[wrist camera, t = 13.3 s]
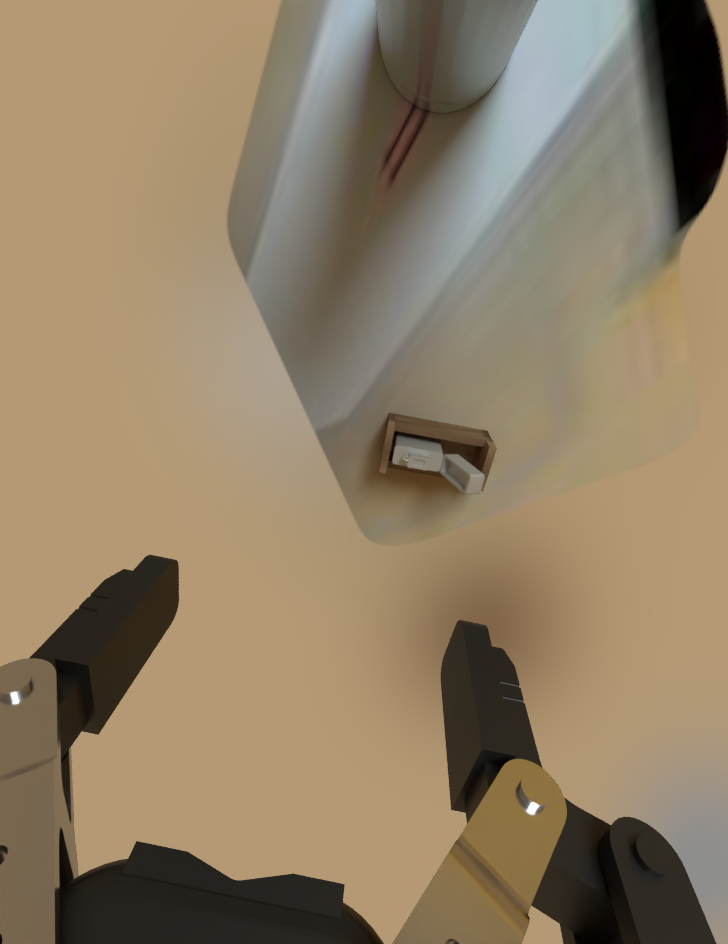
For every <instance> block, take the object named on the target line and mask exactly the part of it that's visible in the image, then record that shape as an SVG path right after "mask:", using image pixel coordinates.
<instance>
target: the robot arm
mask: <svg viewBox="0 0 728 944" xmlns="http://www.w3.org/2000/svg"><path fill="white" fill-rule="evenodd" d="M375 1H376V13H377V23H378V32H379V42H380V48H381V53H382V58H383V62H384V65H385V68H386V70H387V72H388V75H389V77H390V79H391V81H392V82H393V84H394V85H395V87H396V88H397V90H398V91H399V92H400V93H401V94H402V95H403V96H404V97H405V98H406V99H407V100H408V101H409V102H410V103H412V104H414V105H416V106H417V107H419V108H421V109H424V110H427V111H431V112H452V111H456V110H460V109H463V108H465V107H467V106H468V105H470V104H472V103H474V102H476V101H477V100H478V99H479V98H481V97H482V96H483V95H484V94H485V93H487V92H488V91H489V90H490V88H491V87H492V86H493V85H494V83H495V82H496V81H497V80H498V79H499V77H500V75H501V74H502V72H503V70H504V68H505V67H506V65H507V63H508V61H509V59H510V57H511V55H512V53H513V51H514V49H515V47H516V44H517V42H518V40H519V38H520V36H521V35H522V33H523V31H524V28H525V26H526V24H527V22H528V20H529V18H530V16H531V14H532V12H533V9H534V7H535V5H536V3H537V1H538V0H375ZM178 575H179V568H178V562H177V560H173V559H168V558H163V557H159V556H154V555H148V556H146V557H145V558H144V559H143V561H141V562H140V564H139V565H138V566H137V567H136V568H135V569H134V570H133V571H131V570H126V569H123V570H121V571H120V572H118V573H116V574H115V575H113V576H111V577H109V578H107V579H106V580H104V581H103V582H102V583H101V584H100V585H99V587H97V589H95V590H94V592H93V593H92V594H91V596H90V597H88V598H87V599H86V600H85V601H84V602H83V603H82V604H81V605H80V606H79V609H76V610H75V611H74V612H73V613H72V614H71V615H70V616H69V618H68V619H67V620H66V621H65V622H64V623H63V624H62V625H61V626H60V627H59V628H58V629H57V630H56V631H55V632H54V633H53V634H52V635H51V636H50V637H49V638H48V639H47V641H46V642H45V643H44V644H43V645H42V646H41V647H40V648H39V649H38V650H37V651H36V652H35V653H34V654H33V655H32V656H31V657H30V658H29V659H22V660H18V661H14V662H11V663H8V664H6V665H4V666H2V667H0V944H383V942H382V940H381V939H380V938H379V936H378V935H377V933H376V932H375V931H374V929H373V928H372V927H371V926H370V925H369V924H368V923H367V921H366V920H365V919H364V918H363V917H362V916H361V915H359V914H358V913H357V912H356V911H354V910H353V909H352V908H351V907H349V906H348V905H346V904H345V903H343V893H344V884H340V883H335V882H330V881H326V880H321V879H316V878H311V877H306V876H301V875H297V874H288V875H280V876H273V877H265V878H257V879H250V880H242V881H237V880H233V879H231V878H229V877H228V876H226V875H224V874H222V873H221V872H219V871H218V870H216V869H215V868H213V867H211V866H210V865H208V864H206V863H205V862H203V861H202V860H200V859H198V858H197V857H195V856H193V855H192V854H190V853H189V852H186V851H181V850H176V849H171V848H167V847H162V846H157V845H152V844H147V843H142V842H136V844H135V846H134V848H133V850H132V852H131V854H130V856H129V858H128V859H123V860H118V861H115V862H111V863H108V864H104V865H102V866H99V867H97V868H94V869H92V870H90V871H88V872H86V873H84V874H82V875H80V876H78V862H77V853H76V844H75V833H74V811H73V788H72V787H73V786H72V760H71V748H70V747H71V745H72V744H73V743H74V741H75V739H76V738H77V737H78V735H79V734H80V733H81V731H84V732H88V733H93V734H99V733H100V731H101V730H102V728H103V727H104V725H105V723H106V722H107V720H108V719H109V718H110V716H111V714H112V713H113V711H114V710H115V708H116V707H117V705H118V704H119V702H120V701H121V699H122V698H123V696H124V695H125V693H126V692H127V690H128V689H129V687H130V686H131V684H132V683H133V681H134V679H135V678H136V676H137V675H138V673H139V672H140V670H141V669H142V667H143V666H144V664H145V663H146V661H147V660H148V658H149V657H150V655H151V654H152V652H153V651H154V649H155V648H156V646H157V644H158V643H159V642H160V640H161V639H162V637H163V635H164V634H165V632H166V631H167V629H168V628H169V626H170V625H171V623H172V621H173V619H174V617H175V614H176V612H177V608H178V603H179V576H178ZM441 689H442V701H443V713H444V726H445V738H446V750H447V762H448V775H449V787H450V800H451V809H452V810H455V811H460V812H465V813H466V818H467V825H466V827H465V829H464V830H463V832H462V833H461V835H460V837H459V838H458V840H457V841H456V842H455V843H454V845H453V847H452V848H451V849H450V851H449V853H448V854H447V856H446V858H445V859H444V861H443V862H442V864H441V866H440V867H439V869H438V871H437V872H436V874H435V875H434V877H433V879H432V880H431V882H430V884H429V885H428V887H427V888H426V890H425V892H424V893H423V895H422V897H421V898H420V900H419V901H418V903H417V905H416V906H415V908H414V909H413V911H412V913H411V914H410V916H409V917H408V919H407V921H406V923H405V924H404V926H403V927H402V929H401V930H400V932H399V934H398V935H397V937H396V938H395V940H394V942H393V943H392V944H522V941H523V939H524V936H525V933H526V931H527V928H528V925H529V919H530V918H529V916H528V912H529V909H530V906H531V905H532V906H533V907H535V908H536V909H538V910H540V911H541V912H543V913H544V914H546V915H547V916H549V917H550V918H552V919H553V920H555V921H557V922H558V923H560V927H561V932H562V938H563V943H564V944H716V942H715V939H714V937H713V935H712V932H711V930H710V928H709V925H708V923H707V920H706V918H705V915H704V913H703V911H702V908H701V906H700V904H699V901H698V899H697V896H696V894H695V892H694V889H693V887H692V884H691V882H690V879H689V877H688V875H687V872H686V870H685V868H684V866H683V863H682V861H681V860H680V858H679V856H678V855H677V853H676V852H675V851H674V849H673V848H672V846H671V845H670V844H669V843H668V842H667V840H666V839H664V837H663V836H662V835H661V834H660V833H658V832H657V831H656V830H654V828H652V827H650V826H649V825H648V824H646V823H644V822H642V821H640V820H638V819H635V818H631V817H622V818H618V819H617V820H616V821H615V822H614V823H613V824H612V825H609V824H608V823H605V822H604V821H602V820H600V819H598V818H597V817H595V816H593V815H591V814H589V813H587V812H586V811H584V810H582V809H580V808H579V807H577V806H575V805H574V804H572V803H571V802H569V801H568V800H567V799H566V798H564V796H563V794H562V791H561V790H560V788H559V786H558V785H557V783H556V782H555V780H554V779H553V778H552V777H551V776H550V775H549V774H548V773H547V772H546V771H545V770H544V769H543V768H542V765H541V762H540V759H539V755H538V751H537V748H536V744H535V740H534V737H533V733H532V729H531V726H530V722H529V718H528V714H527V710H526V707H525V704H524V703H523V696H522V692H521V688H519V681H518V677H517V673H516V669H515V666H514V664H513V663H512V662H511V660H510V659H509V657H508V656H507V654H506V653H505V651H504V650H503V649H502V648H497V647H492V645H491V641H490V636H489V632H488V628H487V627H486V625H481V624H477V623H472V622H467V621H462V620H459V621H458V622H457V624H456V626H455V628H454V631H453V634H452V636H451V639H450V642H449V644H448V647H447V649H446V652H445V655H444V658H443V662H442V667H441Z"/></svg>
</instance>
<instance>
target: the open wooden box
mask: <svg viewBox="0 0 728 944" xmlns="http://www.w3.org/2000/svg"><path fill="white" fill-rule="evenodd" d="M396 431H398V432H404V433H409V434H415V435H420V436H426V437H431V438H437V439H440V442H441V446H442V451H443V455H445V454H458V455H459V456H461V457H462V458H463V459H465V460H466V461H467V462H469V463H470V464H471V465H472V466H474V467H475V468H476V469H478V470H479V471H480V472H482V473H483V474H484V477H485V478H484V481H483V485H482V488H481V491H482V492H483V490H484V487H485V484H486V481H487V477H488V474H489V471H490V468H491V465H492V461H493V458H494V455H495V452H496V449H497V448H496V446H495V444H494V443H493V441H492V439H491V437H490V435H489V433H488V432H487V431H485V430H479V429H474V428H468V427H463V426H457V425H452V424H446V423H441V422H435V421H430V420H425V419H419V418H414V417H408V416H403V415H397V414H392V413H389V417H388V422H387V427H386V432H385V438H384V443H383V448H382V453H381V461H380V468H379V473H385V474H386V470H387V467H390V468H395V469H401V470H406V471H412V472H417V473H422V474H428V475H433V476H439V477H444V476H443V475H442V474H441V473H440V470H439V471H438V472H436V471H430V470H427V471H426V470H420V469H415V468H409V467H407V466H403V465H397V464H393V462H392V456H393V443H394V438H395V433H396ZM444 478H445V477H444Z"/></svg>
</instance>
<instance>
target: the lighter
mask: <svg viewBox="0 0 728 944" xmlns="http://www.w3.org/2000/svg"><path fill="white" fill-rule="evenodd" d="M392 462H393V464H397V465H403V466H407V467H409V468H415V469H420V470H426V471H427V470H430V471H436V472H438V471H439V470H440V473H441V474H442V475H443V476H444V477H445V478H446V479H447V480H448V481H450V482H451V483H452V484H453V485H454V486H455V487H456V488H457V489H459V490H460V491H461V492H462V493H463V494H464V495H466V494H479V493H480V491H481V488H482V485H483V481H484V478H485V477H484V474H483V473H482V472H480V471H479V470H478V469H476V468H475V467H474V466H472V465H471V464H470V463H469V462H467V461H466V460H465V459H463V458H462V457H461V456H459V455H458V454H445V455H443V451H442V446H441V442H440V439H437V438H431V437H426V436H420V435H415V434H409V433H404V432H398V431H396V433H395V438H394V443H393V456H392Z"/></svg>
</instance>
